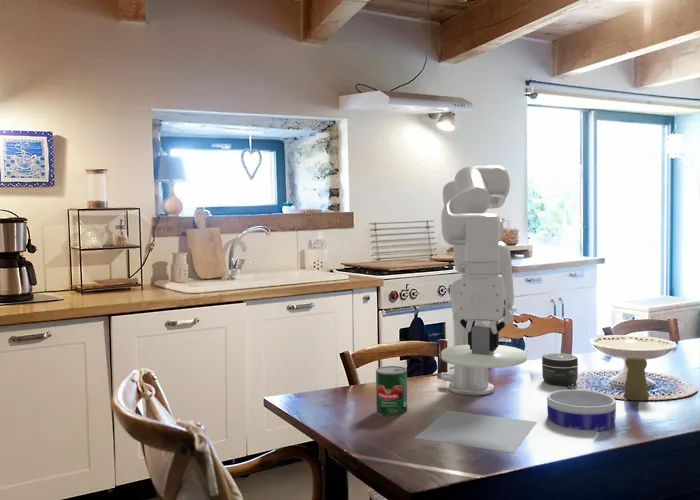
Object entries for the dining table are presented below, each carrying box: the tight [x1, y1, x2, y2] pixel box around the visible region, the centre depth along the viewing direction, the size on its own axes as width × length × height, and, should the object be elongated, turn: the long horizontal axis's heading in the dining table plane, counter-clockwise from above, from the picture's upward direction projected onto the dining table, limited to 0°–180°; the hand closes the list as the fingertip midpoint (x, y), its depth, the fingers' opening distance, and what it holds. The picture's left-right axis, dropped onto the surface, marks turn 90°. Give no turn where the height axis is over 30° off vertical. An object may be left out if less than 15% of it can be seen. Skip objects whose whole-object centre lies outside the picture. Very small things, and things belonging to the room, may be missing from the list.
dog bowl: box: [546, 389, 617, 433], centre depth 155 cm, size 15×15×6 cm
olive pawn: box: [623, 355, 650, 401], centre depth 174 cm, size 6×6×11 cm
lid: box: [440, 324, 527, 369], centre depth 149 cm, size 19×19×7 cm
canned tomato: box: [375, 365, 408, 417], centre depth 166 cm, size 8×8×11 cm
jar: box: [541, 352, 579, 387], centre depth 191 cm, size 10×10×8 cm
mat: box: [414, 410, 538, 454], centre depth 150 cm, size 22×22×1 cm
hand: (483, 348), depth 149 cm, fingers closed on lid, 4 cm apart
